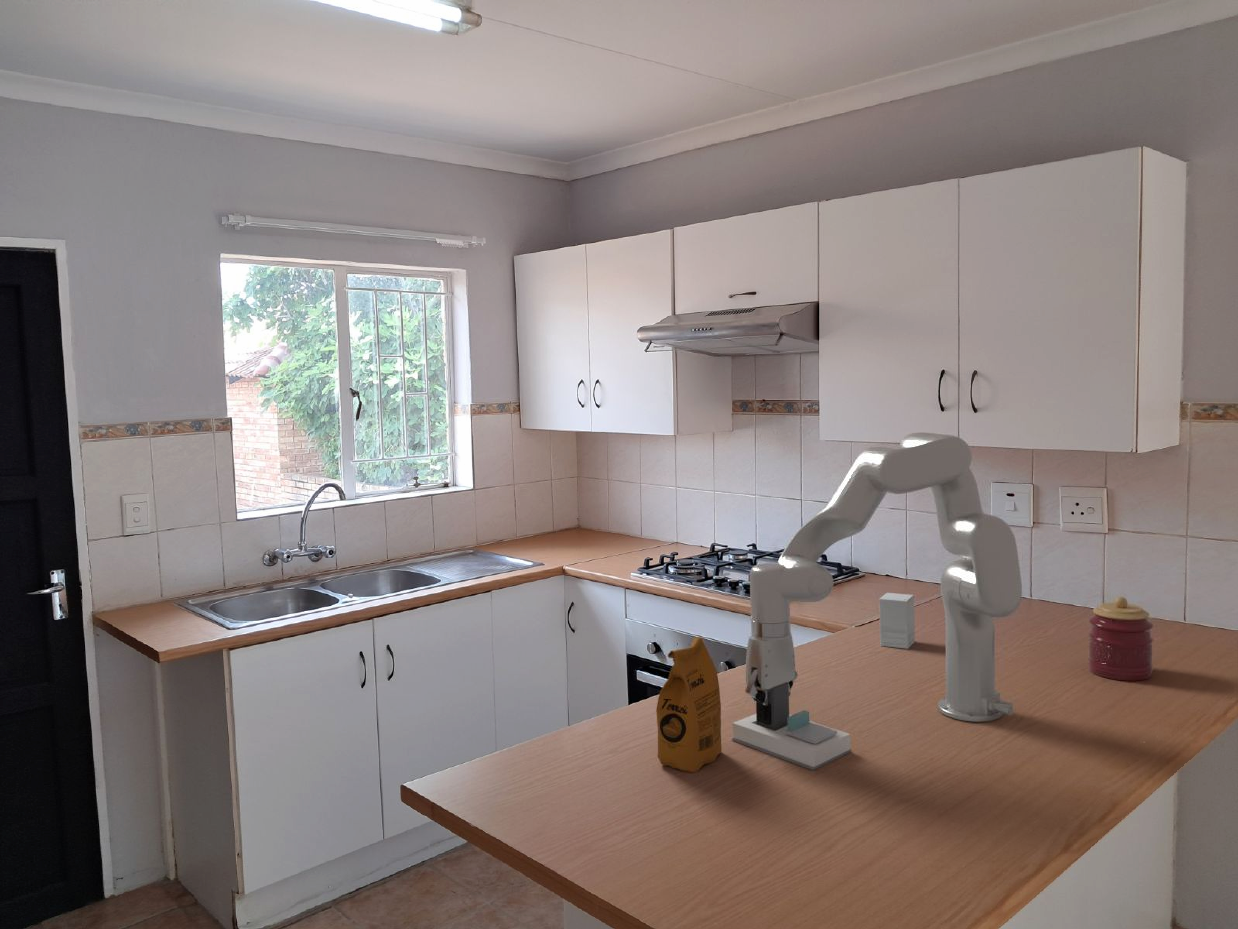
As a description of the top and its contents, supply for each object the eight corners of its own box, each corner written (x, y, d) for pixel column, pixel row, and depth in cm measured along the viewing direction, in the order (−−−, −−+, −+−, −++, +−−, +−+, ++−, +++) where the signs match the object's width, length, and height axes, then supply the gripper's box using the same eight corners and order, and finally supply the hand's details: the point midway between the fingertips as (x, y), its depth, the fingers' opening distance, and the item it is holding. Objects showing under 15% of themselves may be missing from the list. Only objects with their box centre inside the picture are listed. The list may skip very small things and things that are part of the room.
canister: (1139, 686, 201) (1141, 607, 199) (1078, 673, 211) (1079, 598, 209) (1161, 671, 210) (1162, 596, 208) (1101, 660, 219) (1102, 587, 218)
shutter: (837, 734, 172) (836, 718, 171) (815, 744, 167) (814, 728, 167) (806, 724, 177) (806, 709, 177) (785, 733, 173) (784, 718, 173)
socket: (851, 751, 173) (850, 733, 172) (812, 770, 165) (812, 751, 165) (770, 724, 188) (770, 707, 187) (732, 740, 180) (731, 723, 180)
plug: (789, 732, 179) (788, 672, 178) (774, 739, 176) (773, 678, 175) (771, 726, 183) (770, 667, 182) (756, 732, 180) (755, 673, 179)
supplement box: (915, 642, 239) (915, 594, 238) (907, 649, 233) (907, 601, 232) (887, 638, 243) (886, 591, 242) (879, 646, 237) (878, 598, 236)
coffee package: (649, 764, 171) (645, 649, 169) (685, 742, 180) (682, 632, 178) (694, 777, 165) (690, 657, 163) (729, 752, 174) (726, 640, 172)
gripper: (783, 616, 186) (785, 703, 188) (726, 633, 175) (729, 726, 177) (813, 622, 180) (815, 712, 182) (756, 641, 169) (759, 737, 171)
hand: (773, 718), depth 179 cm, fingers closed on plug, 4 cm apart
